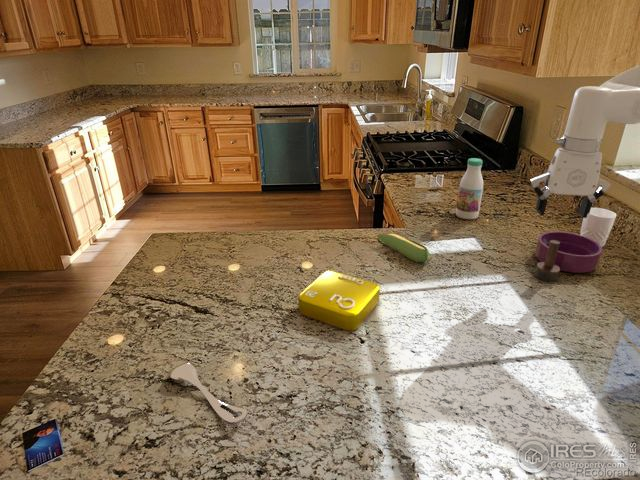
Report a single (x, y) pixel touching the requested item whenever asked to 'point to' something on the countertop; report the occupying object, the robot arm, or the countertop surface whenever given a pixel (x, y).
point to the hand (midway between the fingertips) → (561, 214)
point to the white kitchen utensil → (207, 392)
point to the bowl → (570, 251)
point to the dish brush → (549, 264)
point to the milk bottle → (470, 191)
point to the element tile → (339, 300)
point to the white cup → (598, 225)
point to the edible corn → (405, 247)
